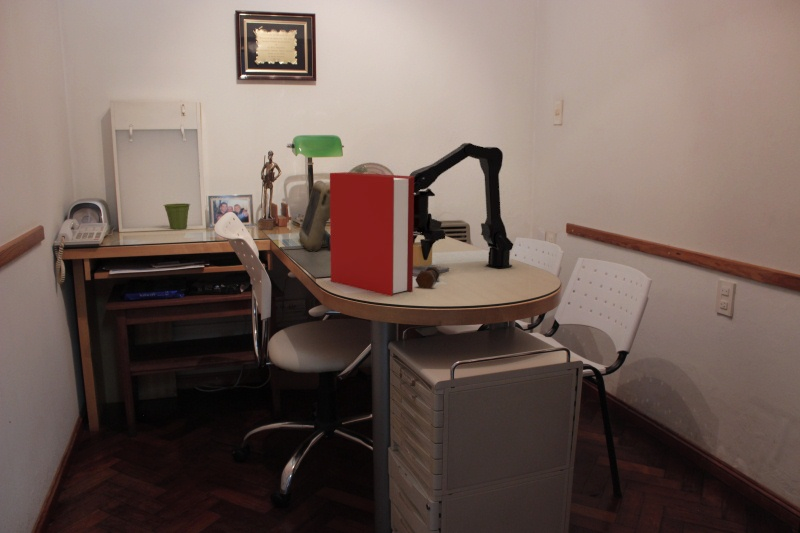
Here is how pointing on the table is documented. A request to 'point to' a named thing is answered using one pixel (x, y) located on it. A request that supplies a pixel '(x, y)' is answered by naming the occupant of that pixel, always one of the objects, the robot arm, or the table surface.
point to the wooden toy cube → (420, 255)
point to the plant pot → (177, 215)
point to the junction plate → (423, 268)
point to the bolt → (427, 277)
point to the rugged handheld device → (316, 218)
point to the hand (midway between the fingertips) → (418, 258)
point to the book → (372, 231)
